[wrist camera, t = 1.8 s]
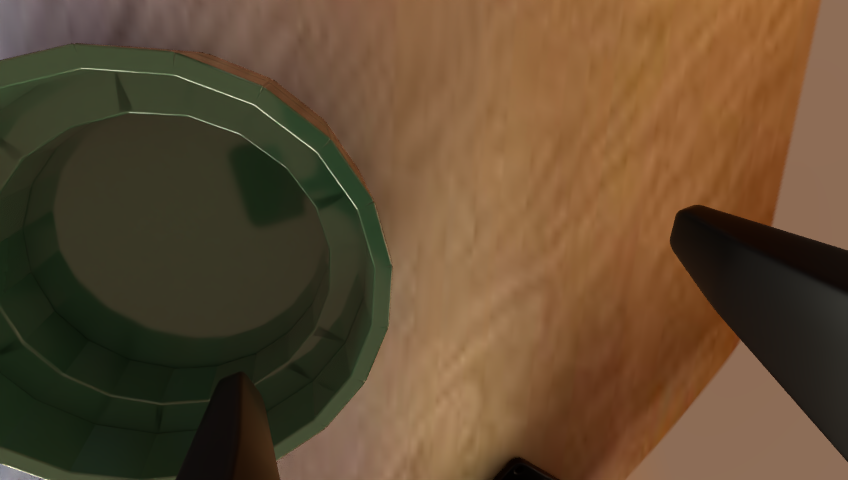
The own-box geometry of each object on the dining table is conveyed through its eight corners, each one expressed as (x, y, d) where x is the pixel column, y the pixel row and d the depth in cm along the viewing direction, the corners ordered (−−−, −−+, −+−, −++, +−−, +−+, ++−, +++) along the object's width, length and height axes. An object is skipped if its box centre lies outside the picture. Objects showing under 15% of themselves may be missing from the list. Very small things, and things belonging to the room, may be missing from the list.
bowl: (438, 208, 21) (477, 252, 16) (243, 443, 23) (227, 544, 18) (112, -50, 16) (30, -96, 11) (-111, 286, 17) (-265, 371, 13)
